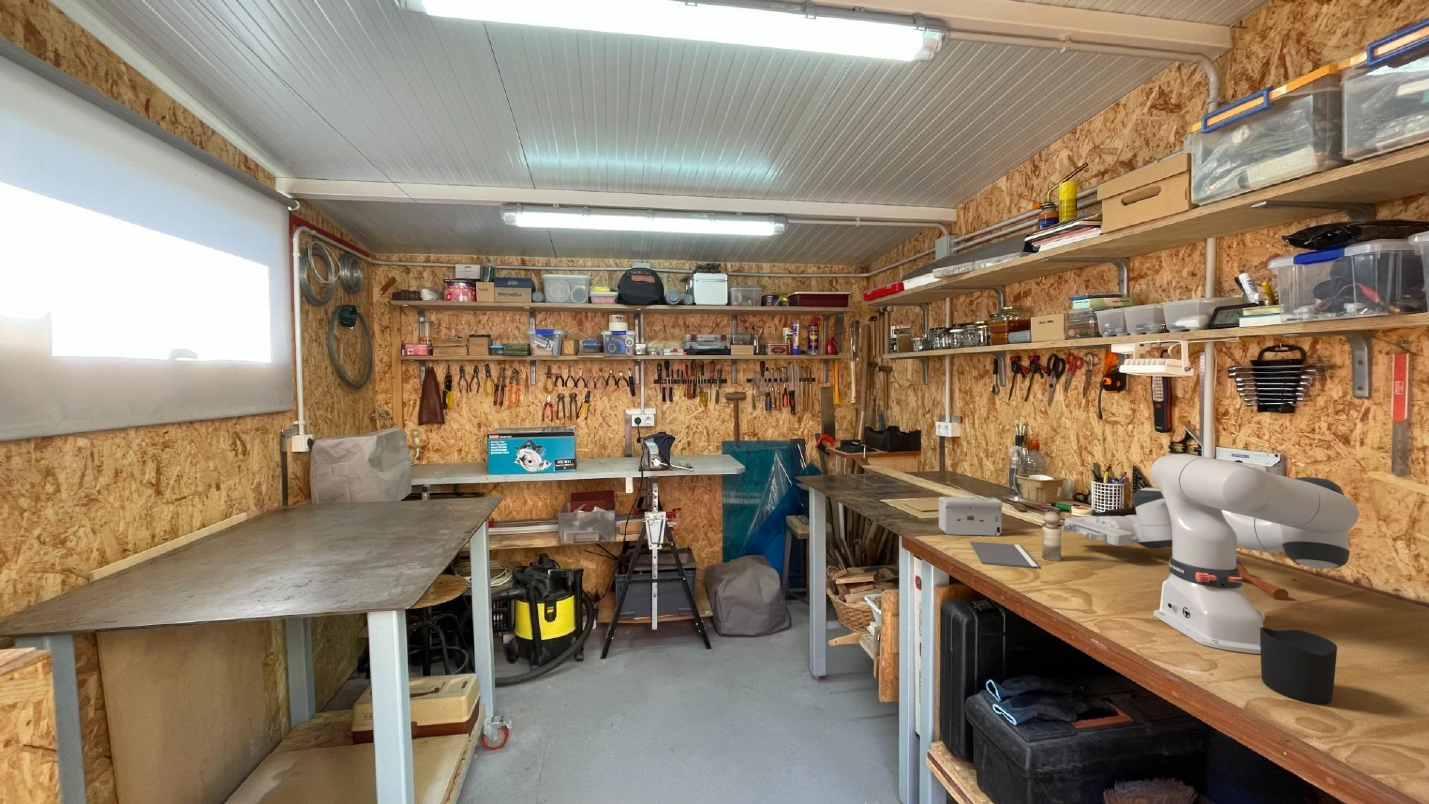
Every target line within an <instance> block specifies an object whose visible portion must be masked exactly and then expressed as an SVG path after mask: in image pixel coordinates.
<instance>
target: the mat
mask: <svg viewBox="0 0 1429 804" xmlns="http://www.w3.org/2000/svg"><path fill="white" fill-rule="evenodd" d="M970 545H971V546H972V548H973V550H974V552H975V554H976V556H977V557H978V559H979V561H980V563H981V564H982V565H990V566H1003V567H1004V566H1005V567H1017V568H1027V569H1028V568H1029V569H1030V568H1031V569H1037V568H1040V569H1041V566H1040V564H1038V562H1037V561H1036V560H1035V559H1034V557H1032V556H1031V555H1030V553H1029V552H1028V551H1027V550H1026V549H1025V547H1023V545H1022V544H1013V543H1012V544H1011V543H1009V544H1008V543H997V542H995V543H994V542H983V541H982V542H981V541H970Z"/></svg>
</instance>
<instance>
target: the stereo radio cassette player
mask: <svg viewBox="0 0 1429 804" xmlns="http://www.w3.org/2000/svg"><path fill="white" fill-rule="evenodd" d="M947 484H950V485H951V486H954V487H955V488H958V489H960V490H961V491H964V492H965V493H967V494H969V495H971V496H972V497H967V496H966V497H964V496H962V497H960V496H957V497H956V496H940V497H938V527H939V529H940V530H941V531H942V532H943V533H945V534H946V535H947V536H949V535H954V536H955V535H957V536H958V535H960V536H963V535H965V536H990V537H991V536H993V537H994V536H995V537H1000V535H1001V534H1002V531H1003V529H1002V528H1003V527H1002V526H1003V525H1002V522H1003V521H1002V519H1003V512H1002V511H1003V502H1002V500H1000V499H998V498H996V497H980V496H978V495H976V494H974V493H972V492H970V491H968V490H965V489H964V488H962V487H959V486H957V485H955V484H953V483H951V482H950V481H948V482H947Z"/></svg>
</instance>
